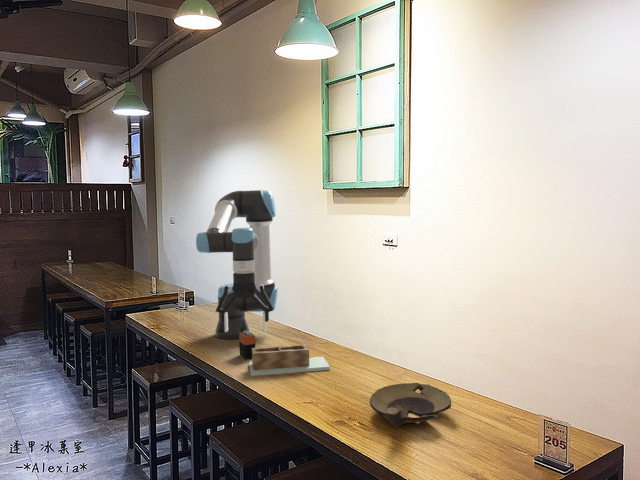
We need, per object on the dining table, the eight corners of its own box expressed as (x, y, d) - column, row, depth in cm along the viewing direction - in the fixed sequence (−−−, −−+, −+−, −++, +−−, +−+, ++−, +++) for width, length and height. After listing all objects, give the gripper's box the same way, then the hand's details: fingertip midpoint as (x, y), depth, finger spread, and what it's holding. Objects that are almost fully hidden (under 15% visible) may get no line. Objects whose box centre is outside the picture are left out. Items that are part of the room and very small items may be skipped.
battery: (245, 359, 204) (244, 334, 203) (239, 355, 210) (238, 330, 209) (256, 357, 206) (255, 332, 205) (249, 353, 212) (248, 328, 211)
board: (251, 376, 186) (250, 364, 185) (249, 365, 197) (248, 354, 197) (329, 369, 191) (329, 358, 190) (323, 359, 202) (323, 348, 202)
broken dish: (468, 414, 151) (468, 387, 151) (399, 448, 132) (399, 418, 131) (406, 392, 168) (406, 369, 167) (337, 420, 148) (336, 394, 148)
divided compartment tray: (253, 370, 188) (253, 353, 187) (252, 364, 195) (251, 348, 194) (309, 365, 192) (309, 349, 191) (306, 360, 199) (306, 344, 198)
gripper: (206, 274, 184) (208, 334, 186) (278, 272, 184) (279, 333, 186) (210, 270, 192) (212, 328, 194) (279, 269, 192) (281, 327, 194)
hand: (245, 330), depth 190 cm, fingers open, 13 cm apart
